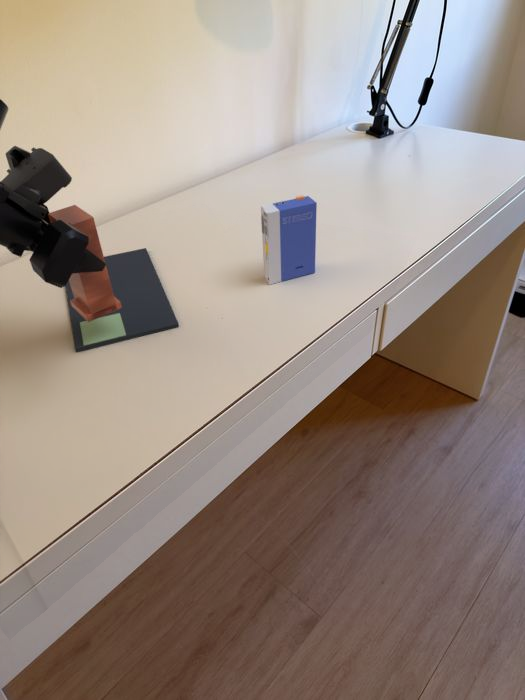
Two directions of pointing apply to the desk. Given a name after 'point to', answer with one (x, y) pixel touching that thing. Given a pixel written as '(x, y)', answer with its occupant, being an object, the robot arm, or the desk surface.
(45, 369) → the desk surface
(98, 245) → the reddish brown square pillar
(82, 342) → the dark blue mat
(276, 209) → the walkman
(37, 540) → the desk surface
